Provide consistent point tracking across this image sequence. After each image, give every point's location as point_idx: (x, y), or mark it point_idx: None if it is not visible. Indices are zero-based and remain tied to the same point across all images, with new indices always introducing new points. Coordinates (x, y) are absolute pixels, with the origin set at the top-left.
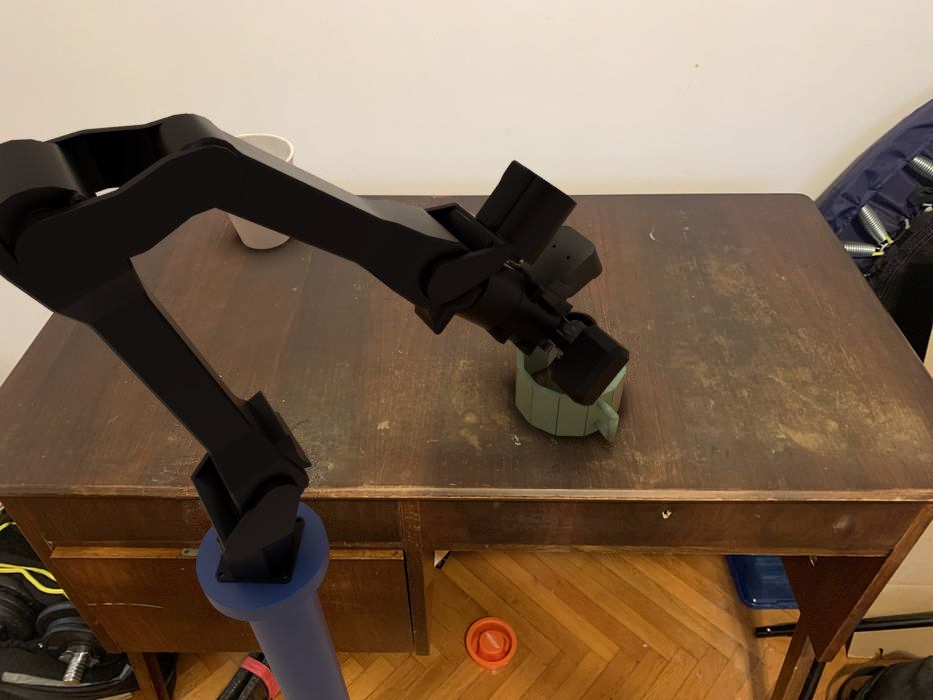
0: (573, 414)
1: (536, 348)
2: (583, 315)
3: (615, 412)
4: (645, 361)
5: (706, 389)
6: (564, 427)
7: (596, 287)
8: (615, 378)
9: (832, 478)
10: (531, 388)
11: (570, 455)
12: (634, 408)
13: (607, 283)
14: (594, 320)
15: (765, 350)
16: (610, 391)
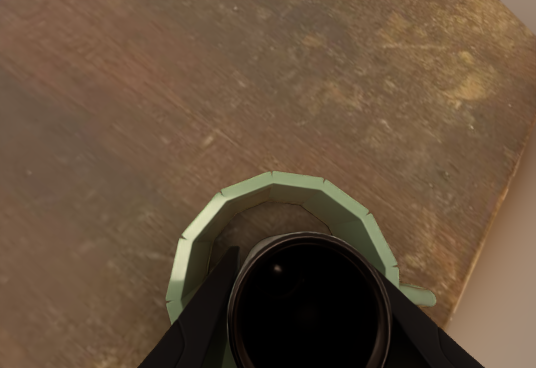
0: None
1: (193, 286)
2: (286, 250)
3: (426, 293)
4: (287, 131)
5: (365, 111)
6: None
7: (134, 77)
8: (376, 242)
9: (522, 110)
10: None
11: None
12: None
13: (139, 61)
14: (332, 242)
15: (351, 20)
16: (398, 275)
